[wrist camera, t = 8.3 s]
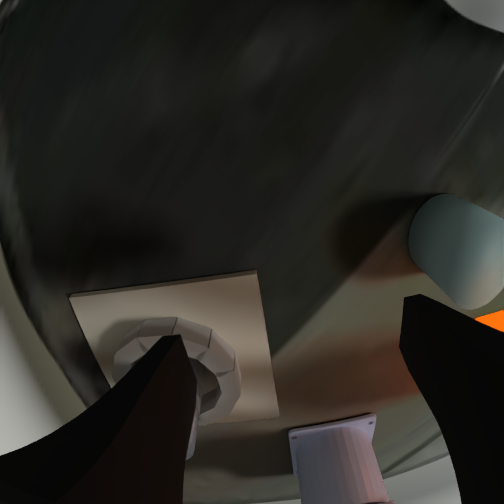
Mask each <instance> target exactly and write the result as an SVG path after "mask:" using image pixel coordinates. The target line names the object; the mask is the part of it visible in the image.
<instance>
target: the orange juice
mask: <svg viewBox="0 0 504 504" xmlns="http://www.w3.org/2000/svg"><path fill="white" fill-rule="evenodd" d="M475 320H477V321H479V322H481V323H483V324H486V325H488V326H490V327H493V328H495V329H497V330H500V331H503V332H504V310H503V311H499V312H496V313H492V314H489V315H485V316H482V317H478V318H476V319H475Z"/></svg>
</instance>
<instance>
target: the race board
mask: <svg viewBox="0 0 504 504" xmlns="http://www.w3.org/2000/svg"><path fill="white" fill-rule="evenodd" d="M69 300H70V302H71V304H72V307H73V309H74V312H75V314H76V316H77V319H78V321H79V323H80V326H81V328H82V330H83V332H84V335H85V337H86V339H87V341H88V343H89V345H90V347H91V349H92V352H93V354H94V356H95V358H96V360H97V362H98V364H99V366H100V367H101V369H102V371H103V373H104V375H105V377H106V379H107V381H108V383H109V384H110V386H111V388H112V387H113V386H114V385H115V384H116V383H117V382H118V381H119V380H120V379H121V378H123V377H124V376H125V375H126V374H127V373H128V371H129V370H130V369H131V368H132V367H133V366H134V365H135V364H136V363H137V362H138V361H139V360H140V359H141V358H142V357H143V356H144V355H145V354H146V352H147V351H148V350H149V349H150V348H151V347H152V346H153V345H154V344H155V343H156V342H157V341H158V340H159V339H160V338H161V337H162V336H166V335H177V334H181V337H182V340H183V343H184V346H185V349H186V351H187V354H188V357H191V358H194V359H197V360H199V361H200V362H201V363H202V364H203V365H205V366H206V374H205V380H204V387H203V393H202V400H201V407H200V414H199V421H198V426H202V425H208V424H210V423H220V422H235V421H247V420H257V419H266V418H275V417H280V415H279V407H278V401H277V395H276V389H275V383H274V376H273V370H272V364H271V358H270V352H269V345H268V339H267V333H266V327H265V321H264V314H263V308H262V302H261V296H260V290H259V284H258V277H257V271H256V270H251V271H244V272H237V273H230V274H223V275H216V276H208V277H201V278H194V279H186V280H179V281H171V282H164V283H156V284H149V285H141V286H133V287H125V288H117V289H109V290H101V291H93V292H84V293H76V294H72V295H71V296H70V297H69Z"/></svg>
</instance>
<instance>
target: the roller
mask: <svg viewBox="0 0 504 504" xmlns="http://www.w3.org/2000/svg"><path fill="white" fill-rule="evenodd" d="M408 247H409V252H410V255H411V258H412V260H413V261H414V263H415V264H416V265H417V266H418V267H419V268H420V269H421V270H422V271H423V272H424V273H425V274H427V275H428V276H429V277H430V278H431V279H432V280H433V281H434V282H435V283H436V284H437V285H438V286H439V287H440V288H441V289H442V290H443V291H444V292H445V293H446V294H447V295H448V296H449V297H450V298H451V299H452V300H453V301H454V302H455V303H456V304H457V305H458V306H459V307H461V308H463V309H467V310H471V309H477V308H480V307H482V306H484V305H485V304H487V303H489V302H490V301H491V300H492V299H494V298H495V297H496V296H497V295H498V294H499V292H500V291H501V290H502V289H503V287H504V219H502V218H500V217H498V216H496V215H494V214H493V213H491V212H489V211H487V210H485V209H483V208H481V207H479V206H477V205H475V204H472V203H470V202H468V201H466V200H464V199H462V198H460V197H458V196H456V195H453V194H440V195H437V196H434V197H433V198H431V199H429V200H428V201H427V202H426V203H425V204H423V205H422V207H421V208H420V209H419V210H418V212H417V213H416V215H415V217H414V219H413V221H412V224H411V227H410V230H409V236H408Z"/></svg>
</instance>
